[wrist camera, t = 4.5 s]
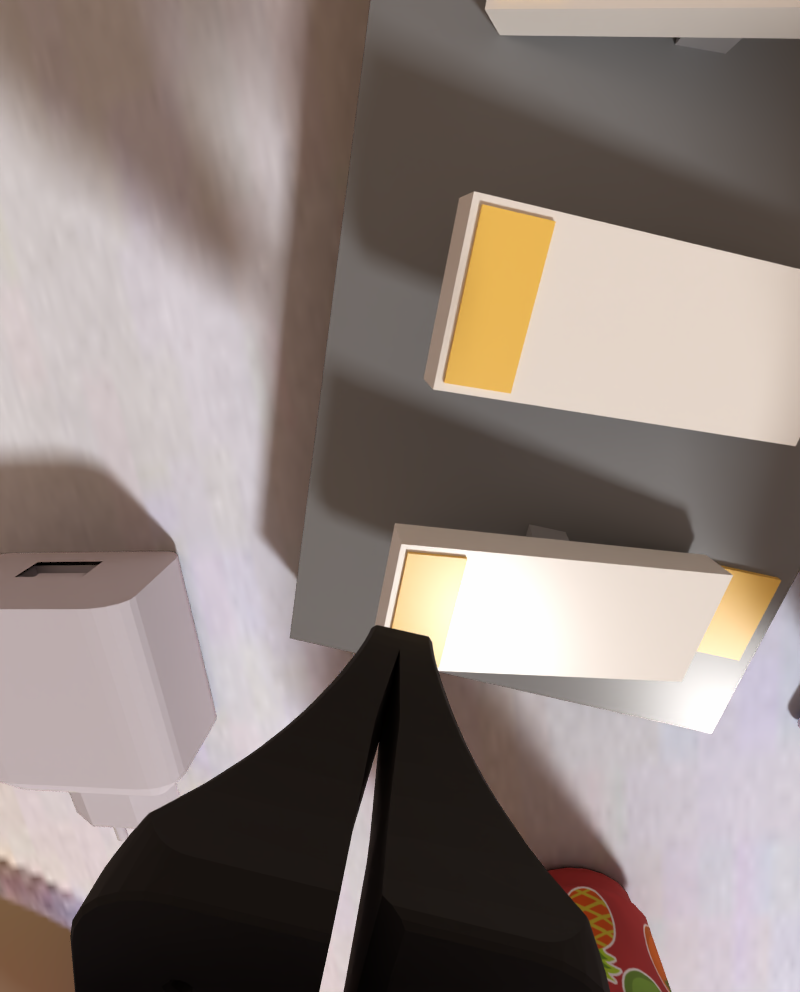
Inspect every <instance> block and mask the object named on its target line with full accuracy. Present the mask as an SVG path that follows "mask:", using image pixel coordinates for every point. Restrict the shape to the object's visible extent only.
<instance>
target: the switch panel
mask: <svg viewBox="0 0 800 992" xmlns="http://www.w3.org/2000/svg"><path fill="white" fill-rule="evenodd" d="M485 6H486V0H370V8H369V16H368V24H367V32H366V40H365V47H364V55H363V63H362V71H361V79H360V87H359V95H358V103H357V111H356V119H355V126H354V134H353V142H352V150H351V158H350V166H349V174H348V182H347V190H346V198H345V205H344V213H343V221H342V229H341V237H340V245H339V253H338V261H337V269H336V276H335V284H334V292H333V300H332V308H331V316H330V324H329V332H328V340H327V348H326V355H325V363H324V371H323V379H322V387H321V395H320V403H319V411H318V419H317V427H316V434H315V442H314V450H313V458H312V466H311V474H310V482H309V490H308V498H307V505H306V513H305V521H304V529H303V537H302V545H301V553H300V561H299V569H298V577H297V584H296V592H295V600H294V608H293V616H292V624H291V632H290V638H291V639H296V640H300V641H305V642H309V643H313V644H318V645H322V646H327V647H331V648H335V649H340V650H344V651H349V652H353V653H356V652H357V651H358V650H359V648H360V647H361V645H362V644H363V642H364V641H365V639H366V637H367V636H368V634H369V632H370V630H371V628H372V627H374V626H375V621H376V616H377V611H378V606H379V601H380V596H381V591H382V586H383V581H384V576H385V571H386V566H387V561H388V556H389V551H390V546H391V541H392V535H393V530H394V525H395V523H398V524H408V525H418V526H428V527H438V528H447V529H457V530H467V531H477V532H486V533H496V534H506V535H516V536H526V537H535V538H545V539H555V540H565V541H575V542H584V543H594V544H604V545H614V546H624V547H633V548H643V549H653V550H663V551H673V552H682V553H692V554H702V555H707V556H708V557H709V558H711V559H712V560H713V561H715V562H716V563H717V564H719V565H720V566H721V567H723V568H724V569H725V570H727V571H728V572H729V573H731V574H732V575H733V577H732V579H731V581H730V583H729V585H728V587H727V589H726V591H725V593H724V595H723V597H722V599H721V601H720V604H719V606H718V608H717V610H716V612H715V614H714V616H713V618H712V620H711V622H710V624H709V626H708V628H707V630H706V633H705V635H704V637H703V639H702V641H701V643H700V645H699V647H698V649H697V651H696V653H695V655H694V657H693V659H692V661H691V664H690V666H689V668H688V670H687V672H686V674H685V676H684V678H683V680H682V682H674V681H652V680H630V679H608V678H585V677H563V676H541V675H519V674H497V673H475V672H452V671H439V672H441V673H446V674H450V675H454V676H459V677H463V678H468V679H472V680H477V681H481V682H485V683H490V684H494V685H499V686H503V687H507V688H512V689H516V690H521V691H525V692H529V693H534V694H538V695H543V696H547V697H551V698H556V699H560V700H565V701H569V702H574V703H578V704H582V705H587V706H591V707H596V708H600V709H604V710H609V711H613V712H618V713H622V714H626V715H631V716H635V717H640V718H644V719H648V720H653V721H657V722H662V723H666V724H671V725H675V726H679V727H684V728H688V729H693V730H697V731H701V732H706V733H710V734H712V732H713V730H714V729H715V727H716V725H717V723H718V721H719V719H720V717H721V715H722V714H723V712H724V710H725V708H726V706H727V704H728V702H729V701H730V699H731V697H732V695H733V693H734V691H735V689H736V687H737V686H738V684H739V682H740V680H741V678H742V676H743V674H744V673H745V671H746V669H747V667H748V665H749V663H750V661H751V659H752V658H753V656H754V654H755V652H756V650H757V648H758V646H759V645H760V643H761V641H762V639H763V637H764V635H765V633H766V631H767V630H768V628H769V626H770V624H771V622H772V620H773V618H774V617H775V615H776V613H777V611H778V609H779V607H780V605H781V603H782V602H783V600H784V598H785V596H786V594H787V592H788V590H789V589H790V587H791V585H792V583H793V581H794V579H795V577H796V575H797V574H798V572H799V570H800V438H799V440H798V442H797V444H796V446H791V445H784V444H778V443H772V442H765V441H759V440H752V439H746V438H740V437H733V436H727V435H721V434H714V433H708V432H701V431H695V430H689V429H682V428H676V427H670V426H663V425H657V424H650V423H644V422H638V421H631V420H625V419H618V418H612V417H606V416H599V415H593V414H587V413H580V412H574V411H567V410H561V409H555V408H548V407H542V406H536V405H529V404H523V403H516V402H510V401H504V400H497V399H491V398H484V397H478V396H472V395H465V394H459V393H453V392H446V391H440V390H433V389H432V388H431V387H430V385H429V384H428V383H427V382H426V381H425V380H424V374H425V369H426V364H427V359H428V354H429V349H430V343H431V338H432V333H433V328H434V323H435V318H436V313H437V308H438V303H439V298H440V293H441V288H442V283H443V278H444V273H445V268H446V263H447V258H448V253H449V247H450V242H451V237H452V232H453V227H454V222H455V217H456V212H457V207H458V202H459V198H460V197H463V196H465V195H467V194H469V193H471V192H474V191H475V192H479V193H483V194H488V195H492V196H496V197H500V198H504V199H508V200H513V201H517V202H521V203H525V204H529V205H534V206H538V207H542V208H546V209H550V210H554V211H559V212H563V213H567V214H571V215H575V216H580V217H584V218H588V219H592V220H596V221H600V222H605V223H609V224H613V225H617V226H621V227H625V228H630V229H634V230H638V231H642V232H646V233H651V234H655V235H659V236H663V237H667V238H671V239H676V240H680V241H684V242H688V243H692V244H697V245H701V246H705V247H709V248H713V249H717V250H722V251H726V252H730V253H734V254H738V255H743V256H747V257H751V258H755V259H759V260H763V261H768V262H772V263H776V264H780V265H784V266H788V267H793V268H797V269H800V39H784V38H695V37H607V36H518V35H499V33H498V32H497V30H496V28H495V26H494V25H493V23H492V21H491V19H490V18H489V16H488V14H487V13H486V11H485Z"/></svg>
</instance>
